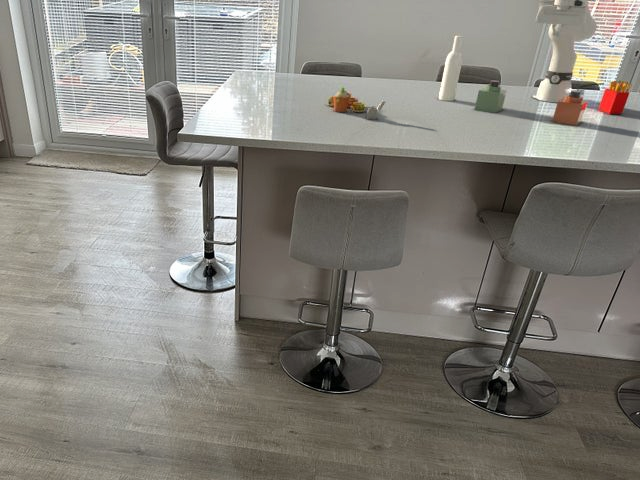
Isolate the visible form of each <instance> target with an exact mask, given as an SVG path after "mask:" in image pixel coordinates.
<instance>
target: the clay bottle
mask: <svg viewBox="0 0 640 480" xmlns="http://www.w3.org/2000/svg"><path fill="white" fill-rule="evenodd" d="M569 96H570V95H566V96H565V98H563V99H561V100H559V101H558V102H556V106H555V110H554V113H553V115H552V116H553V117H552V120H551V123H557V124H562V125H569V126H578V125H579V124H580V123H581V122H582V120H583V117H584V114H585V111H586V108H587V105H588V102H589V101H588V100H584V96H581V95H580V97H579V98H576V97H569Z"/></svg>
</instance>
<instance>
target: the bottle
mask: <svg viewBox="0 0 640 480" xmlns="http://www.w3.org/2000/svg"><path fill="white" fill-rule="evenodd" d="M463 38H464V37H463V35H455V36H454V39H453V40H454V41H453V46H452V49H451V50H452V51H450V52H449V53H448V54H447V57H446V59H445V63H444V69H443V74H442V79H441V83H440V84H441V85H440V90H439V93H438V100H439V101H444V102H453V101H454V100H455V98H456V93H457V89H458V83H459V78H460V74H461V69H462V64H463V54H462V53H461V48H462V43H463Z"/></svg>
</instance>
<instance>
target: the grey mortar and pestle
mask: <svg viewBox="0 0 640 480" xmlns="http://www.w3.org/2000/svg"><path fill="white" fill-rule="evenodd" d="M385 104H386V101H385V100H383V99H382V100H381V101H380V103H379V104H378V106H377V107H376V106H375V105H374V106H373V105H371V106H369V107H368V108H367V113H366V120H377V117H378V111H381V110H382V109H383V107H384V105H385Z"/></svg>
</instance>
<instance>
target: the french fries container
mask: <svg viewBox="0 0 640 480" xmlns="http://www.w3.org/2000/svg"><path fill="white" fill-rule="evenodd" d="M632 85H633V83H629V82H626V81H622V80H619V81H618V80H614V81H613V80H612V81H610V82H609V87H608V88H604V92H603V94H602V97H601V100H600V103H599V106H598V109H597V110H598V111H600V112H602V113H605V114H608V115H622V113H623V112H624V110H625V107H626V105H627V102H628V99H629V96H630V94H631V93H630V89H631V87H632Z"/></svg>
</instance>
